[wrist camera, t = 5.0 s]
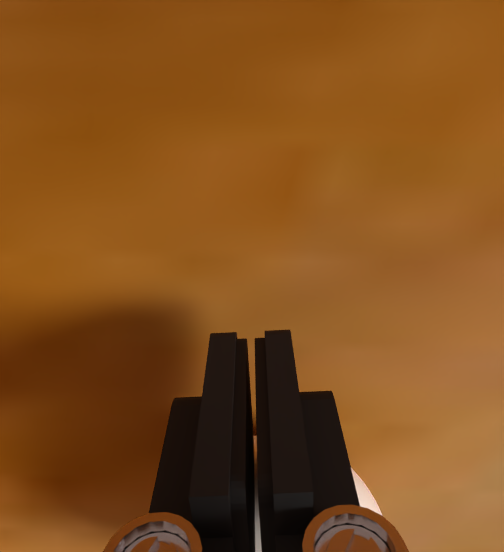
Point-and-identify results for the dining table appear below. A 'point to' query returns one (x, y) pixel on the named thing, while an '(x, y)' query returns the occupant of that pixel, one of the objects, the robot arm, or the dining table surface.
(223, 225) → the dining table surface
